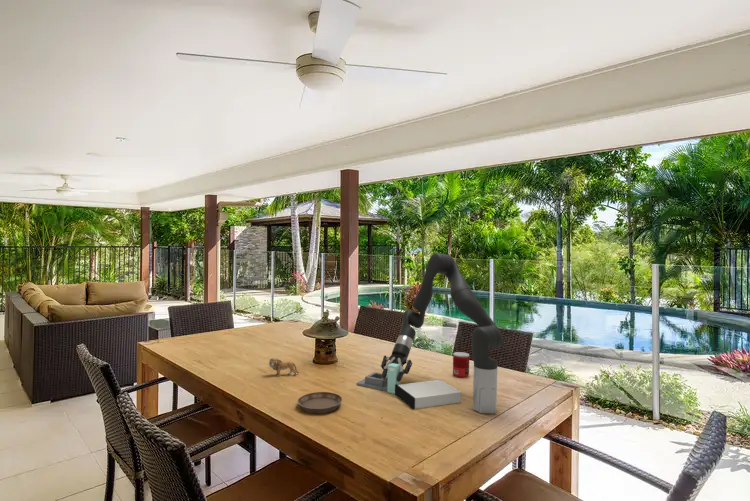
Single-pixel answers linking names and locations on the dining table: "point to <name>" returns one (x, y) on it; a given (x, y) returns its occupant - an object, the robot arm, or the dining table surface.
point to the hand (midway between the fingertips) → (390, 379)
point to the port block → (375, 381)
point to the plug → (392, 377)
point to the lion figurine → (282, 366)
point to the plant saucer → (319, 402)
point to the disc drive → (427, 394)
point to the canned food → (461, 364)
